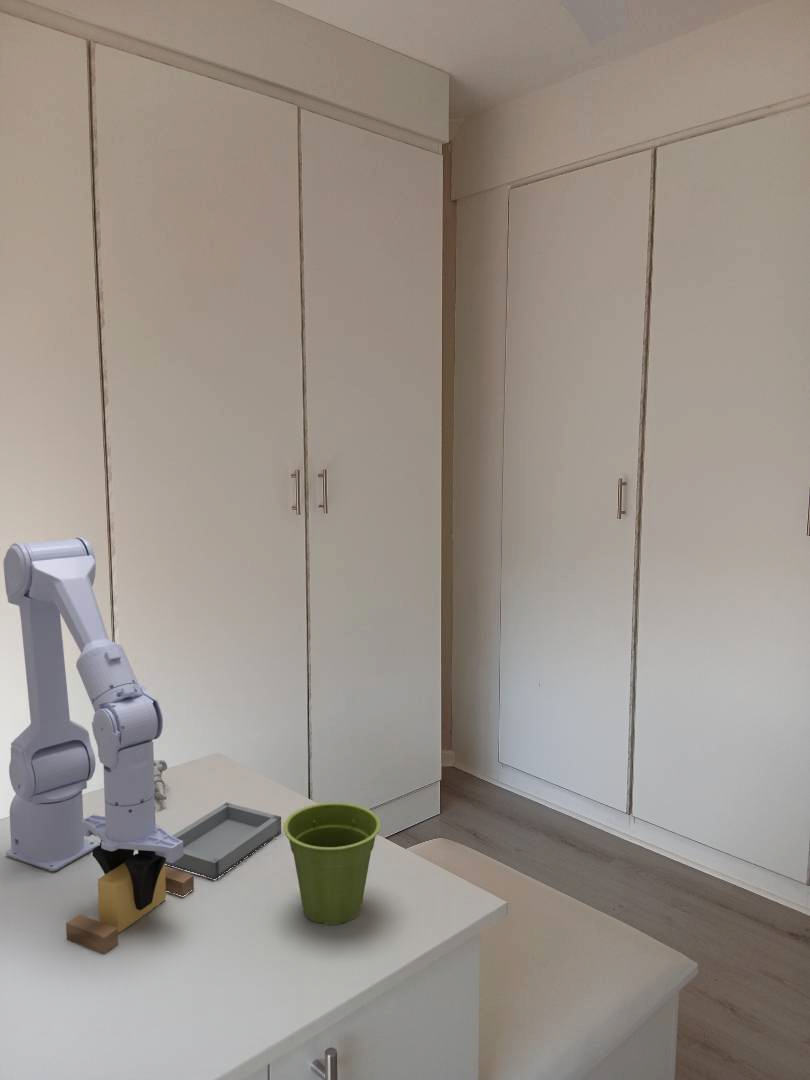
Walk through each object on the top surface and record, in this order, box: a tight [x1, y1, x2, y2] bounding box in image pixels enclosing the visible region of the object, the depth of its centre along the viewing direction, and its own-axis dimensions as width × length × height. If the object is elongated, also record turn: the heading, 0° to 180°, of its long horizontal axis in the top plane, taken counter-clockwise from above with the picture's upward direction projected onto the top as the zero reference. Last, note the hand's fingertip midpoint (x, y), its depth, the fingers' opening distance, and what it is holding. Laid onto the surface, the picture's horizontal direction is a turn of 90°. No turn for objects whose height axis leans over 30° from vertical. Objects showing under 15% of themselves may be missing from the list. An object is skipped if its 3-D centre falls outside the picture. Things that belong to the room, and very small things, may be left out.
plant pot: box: [282, 802, 382, 925], centre depth 104 cm, size 12×12×11 cm
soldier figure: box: [154, 759, 168, 810], centre depth 136 cm, size 8×5×12 cm
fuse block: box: [97, 863, 167, 934], centre depth 103 cm, size 3×8×6 cm, turn 153°
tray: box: [165, 802, 282, 879], centre depth 120 cm, size 10×15×2 cm, turn 153°
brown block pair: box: [65, 866, 195, 955], centre depth 103 cm, size 6×15×2 cm, turn 153°
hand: (133, 901), depth 103 cm, fingers closed on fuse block, 3 cm apart
